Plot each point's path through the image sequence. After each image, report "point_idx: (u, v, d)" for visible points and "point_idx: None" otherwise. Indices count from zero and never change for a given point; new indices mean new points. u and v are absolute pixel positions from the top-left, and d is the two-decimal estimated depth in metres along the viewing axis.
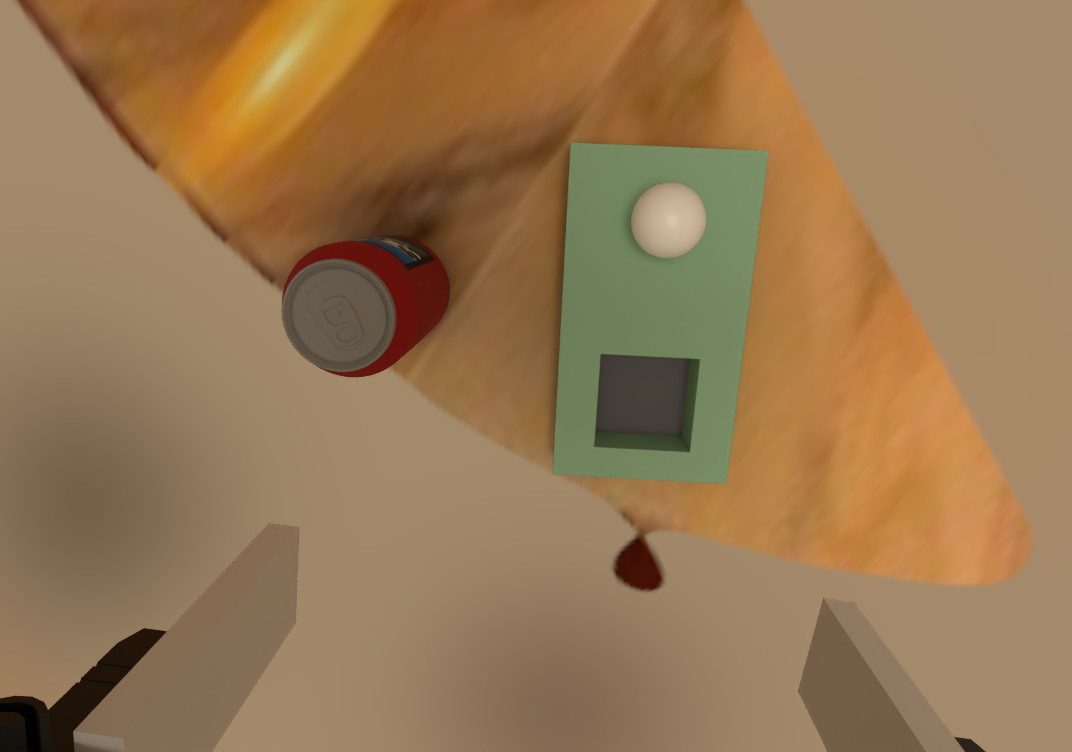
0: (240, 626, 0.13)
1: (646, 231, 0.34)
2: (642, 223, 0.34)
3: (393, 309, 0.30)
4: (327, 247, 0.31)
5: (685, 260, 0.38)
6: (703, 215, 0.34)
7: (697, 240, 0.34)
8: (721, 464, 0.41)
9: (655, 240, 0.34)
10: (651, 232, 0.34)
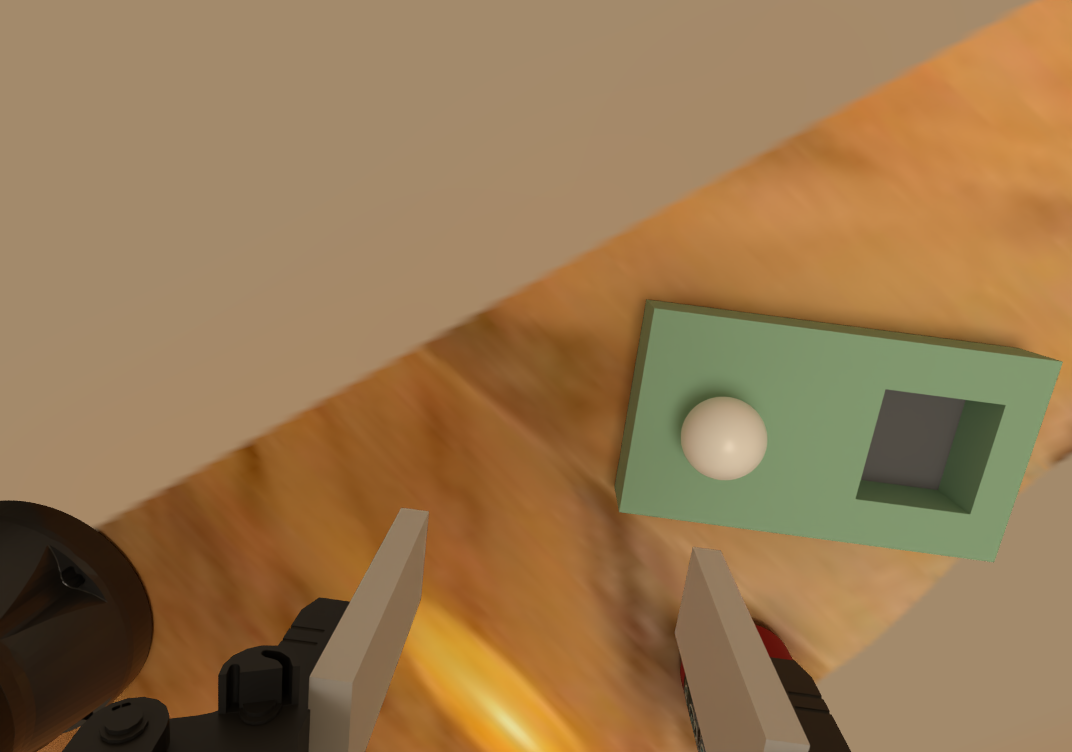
0: (400, 596, 0.15)
1: (737, 476, 0.30)
2: (727, 478, 0.30)
3: None
4: None
5: (763, 402, 0.33)
6: (728, 411, 0.30)
7: (754, 416, 0.30)
8: (1032, 367, 0.32)
9: (749, 468, 0.30)
10: (740, 473, 0.30)
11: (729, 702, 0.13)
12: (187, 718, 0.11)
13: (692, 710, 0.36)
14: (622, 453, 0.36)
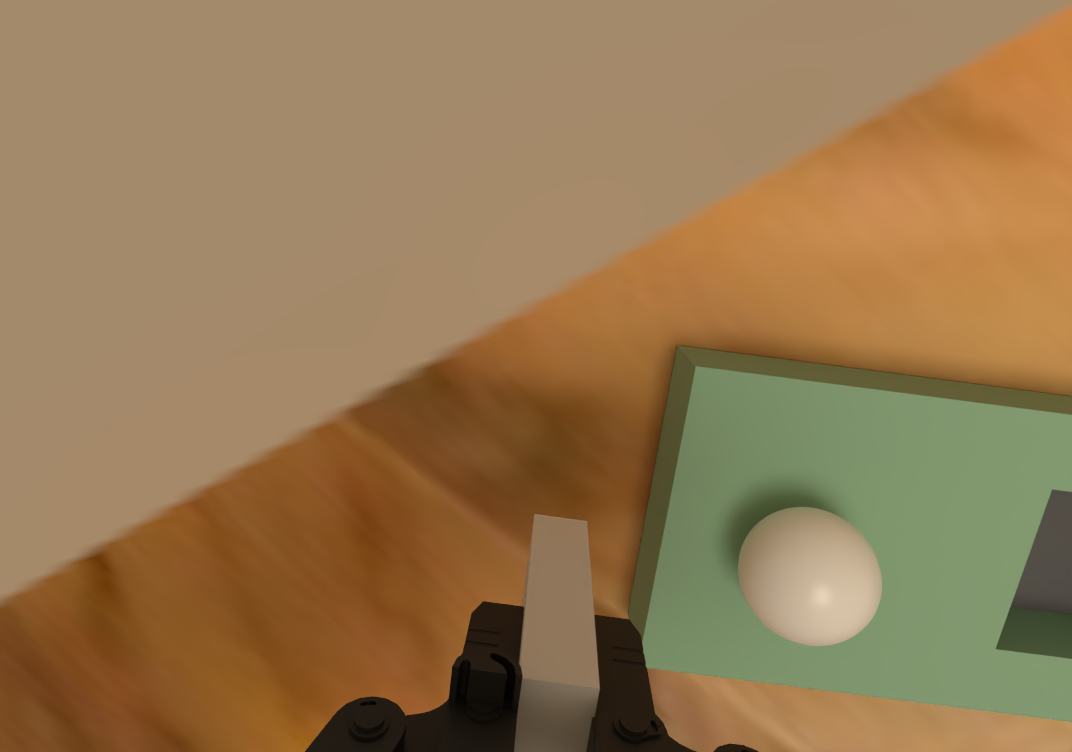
0: None
1: (834, 643, 0.18)
2: (817, 645, 0.19)
3: None
4: None
5: (861, 508, 0.21)
6: (822, 541, 0.18)
7: (864, 548, 0.18)
8: None
9: (856, 633, 0.18)
10: (841, 640, 0.18)
11: None
12: (409, 717, 0.11)
13: None
14: (640, 569, 0.24)
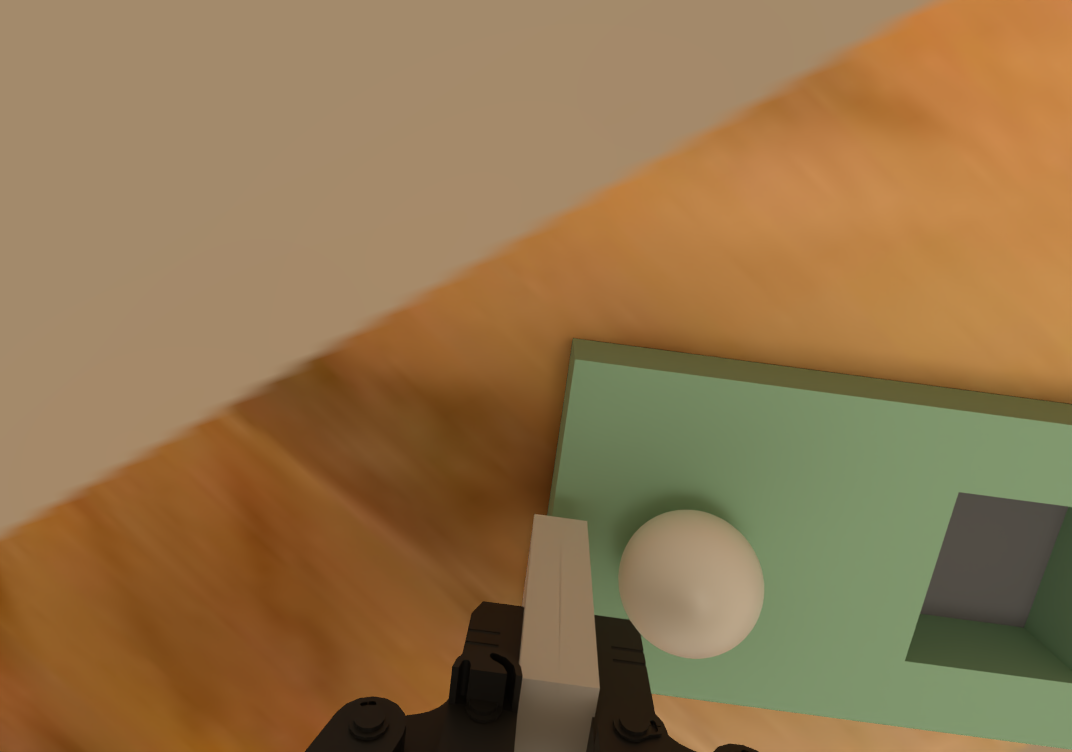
0: None
1: (711, 656, 0.17)
2: (694, 658, 0.17)
3: None
4: None
5: (757, 510, 0.20)
6: (695, 547, 0.17)
7: (741, 554, 0.17)
8: None
9: (733, 645, 0.17)
10: (716, 653, 0.17)
11: None
12: (409, 717, 0.11)
13: None
14: None
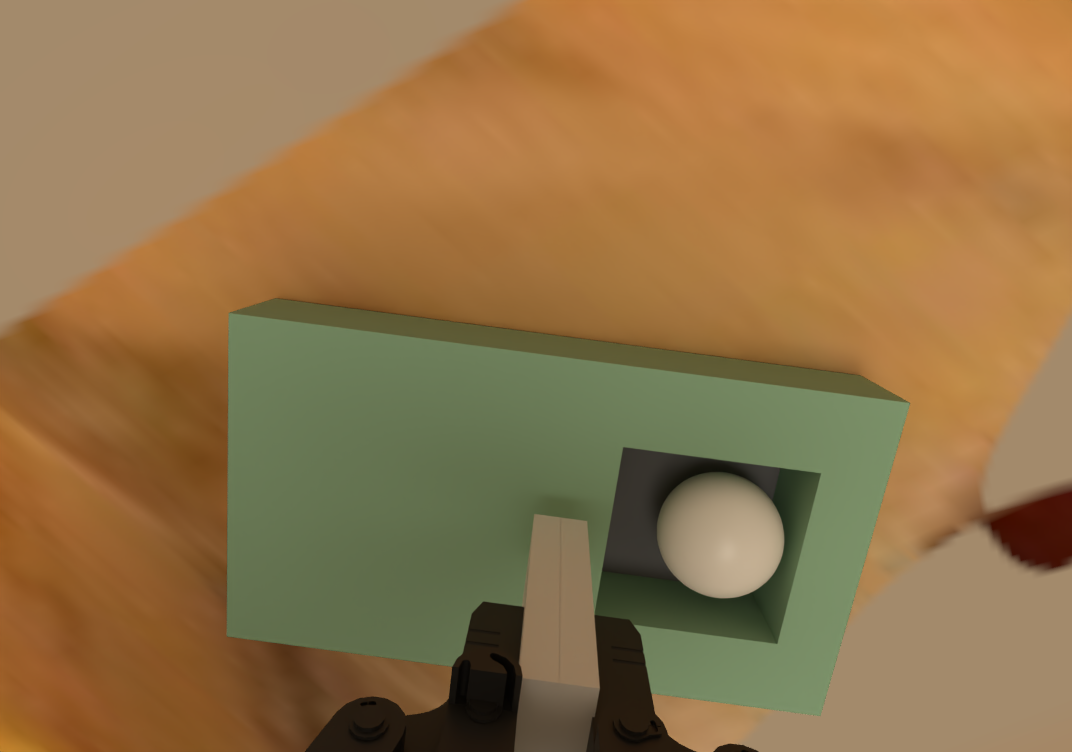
0: None
1: (736, 596, 0.20)
2: (721, 597, 0.20)
3: None
4: None
5: (428, 466, 0.20)
6: (724, 500, 0.20)
7: (765, 509, 0.20)
8: (861, 412, 0.19)
9: (755, 586, 0.20)
10: (741, 592, 0.20)
11: None
12: (409, 717, 0.11)
13: None
14: None
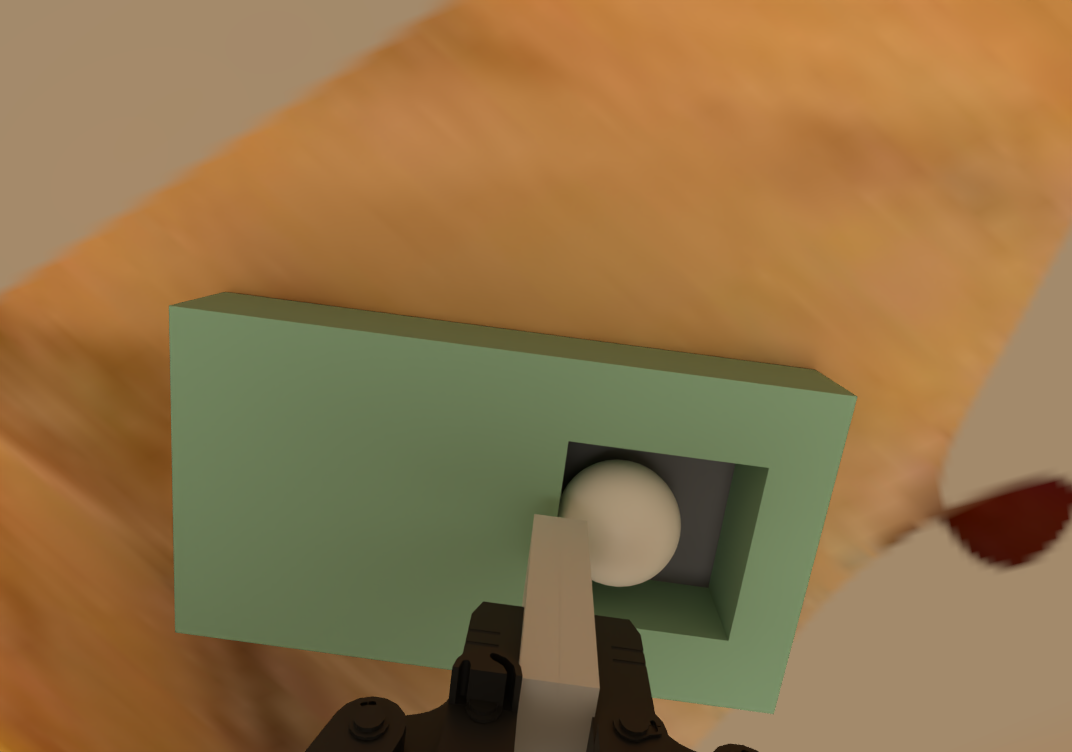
0: None
1: None
2: None
3: None
4: None
5: (373, 461, 0.20)
6: (592, 475, 0.20)
7: (625, 496, 0.19)
8: (808, 405, 0.19)
9: (599, 570, 0.19)
10: None
11: None
12: (409, 717, 0.11)
13: None
14: None
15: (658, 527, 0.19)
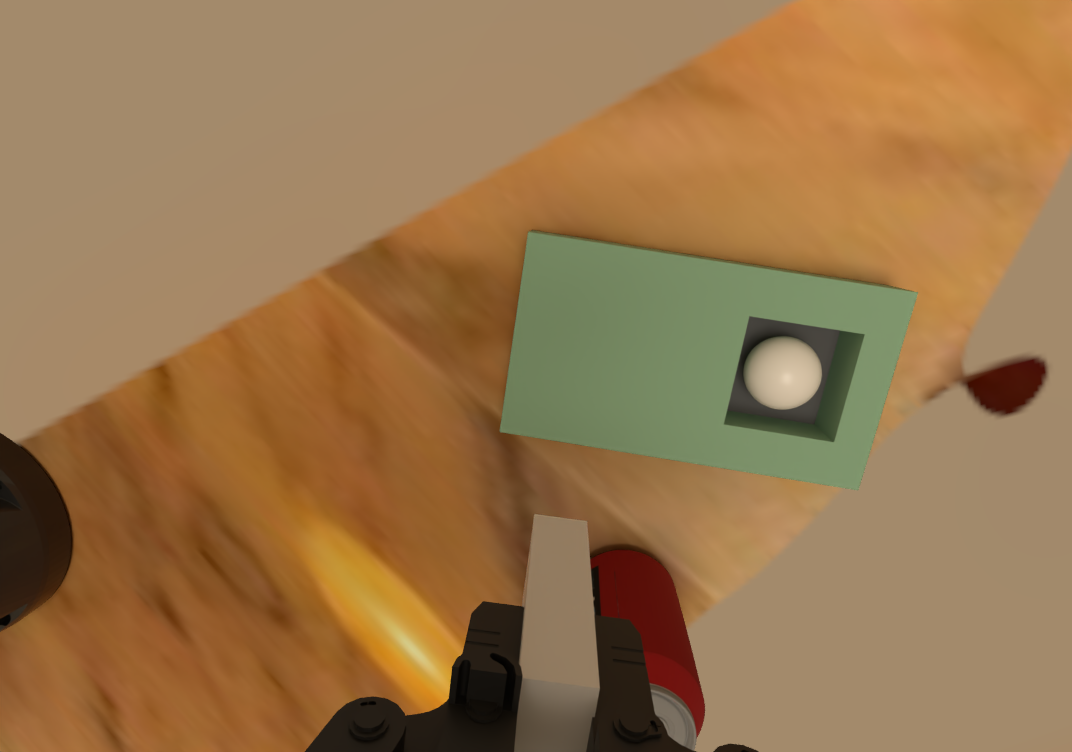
0: None
1: (779, 402, 0.34)
2: (771, 404, 0.34)
3: None
4: None
5: (633, 326, 0.34)
6: (777, 343, 0.34)
7: (802, 352, 0.34)
8: (889, 297, 0.33)
9: (789, 396, 0.34)
10: (780, 398, 0.34)
11: None
12: (409, 716, 0.11)
13: None
14: None
15: (819, 368, 0.34)
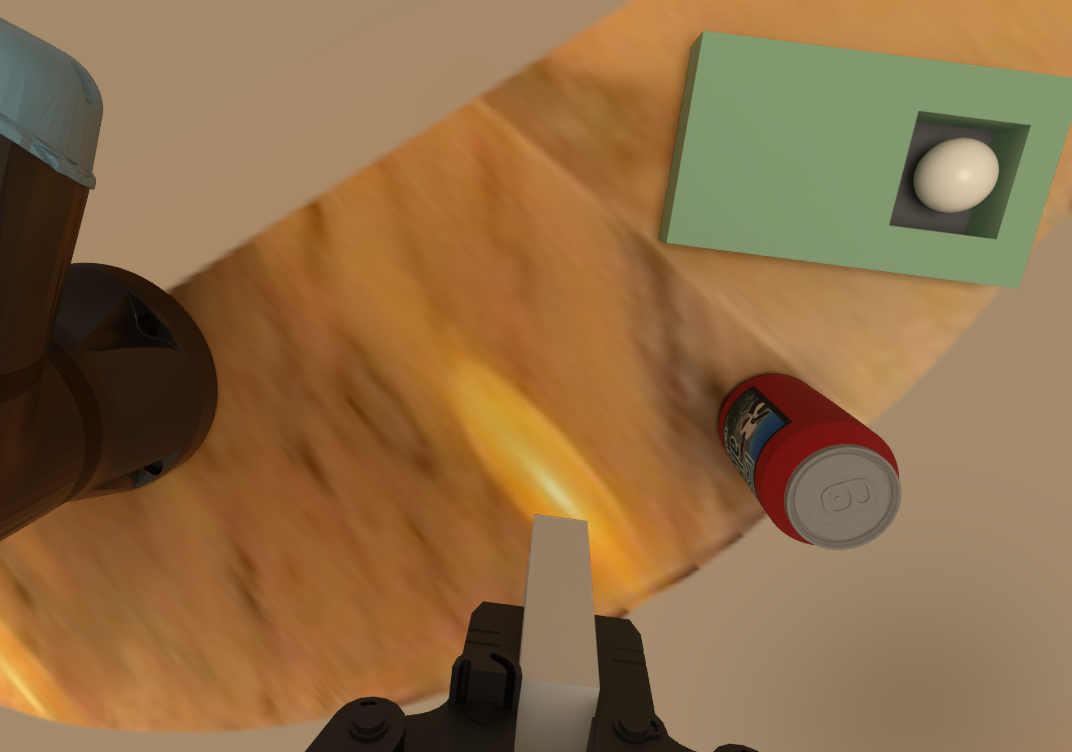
0: None
1: (968, 200, 0.35)
2: (958, 203, 0.35)
3: (846, 446, 0.30)
4: (766, 495, 0.32)
5: (804, 125, 0.35)
6: (963, 141, 0.35)
7: (988, 147, 0.35)
8: (1056, 85, 0.34)
9: (980, 191, 0.35)
10: (971, 195, 0.35)
11: None
12: (409, 716, 0.11)
13: (733, 438, 0.38)
14: (667, 199, 0.38)
15: None
